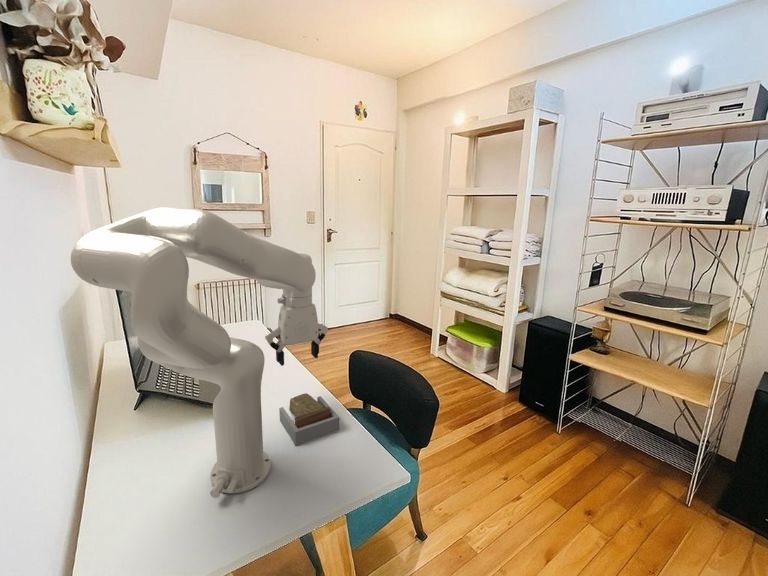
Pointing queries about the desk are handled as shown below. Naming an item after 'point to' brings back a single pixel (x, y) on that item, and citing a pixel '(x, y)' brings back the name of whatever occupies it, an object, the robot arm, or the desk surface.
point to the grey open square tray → (310, 426)
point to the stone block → (303, 405)
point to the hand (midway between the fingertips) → (298, 359)
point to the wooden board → (312, 417)
